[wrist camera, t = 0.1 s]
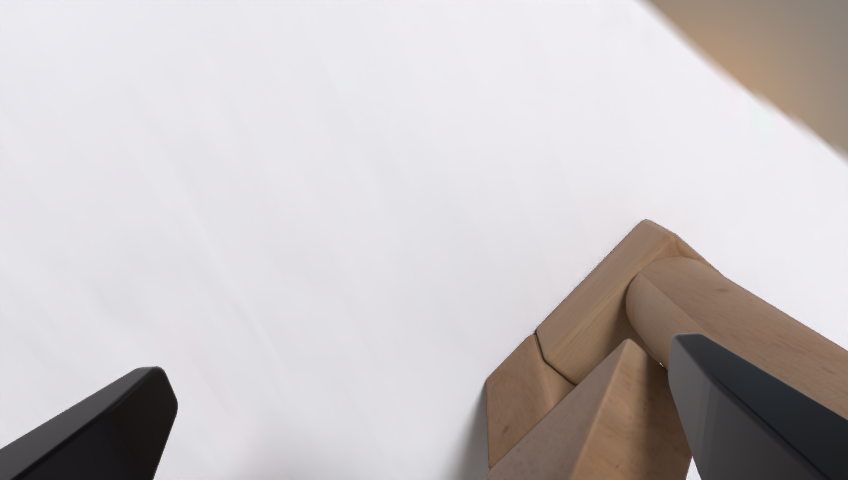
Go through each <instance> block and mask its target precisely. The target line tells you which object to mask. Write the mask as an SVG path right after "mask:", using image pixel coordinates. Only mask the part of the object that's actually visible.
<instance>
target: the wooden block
mask: <svg viewBox="0 0 848 480" xmlns="http://www.w3.org/2000/svg"><path fill="white" fill-rule="evenodd" d="M536 332H537V335H535V334H532V335H530V336H528V337H527V338H526V339H525V340H524V341H523V342H522V343H521V344H520V345H519V346H518V347H517V349H516V350H515V351H514V352H513V353H512V354H511V355H510V356H509V357H508V358H507V359H506V360H505V361H504V362H503V363H502V364H501V365H500V366H499V367H498V368H497V369H496V370H495V371H494V372H493V373H492V374H491V375H490V376H489V377H488V378H487V381H486V406H487V433H488V460H489V468H490V471H489V472H488V474H487V480H686V476H687V473H688V469H689V466H690V462H691V459H692V453H691V450H690V447H689V444H688V441H687V438H686V435H685V432H684V429H683V426H682V423H681V420H680V417H679V414H678V411H677V408H676V405H675V402H674V399H673V396H672V393H671V390H670V386H669V381H668V367H669V355H670V344H671V339H672V337H673V336H674V335H675V334H680V333H701V334H703V335H705V336H707V337H708V338H710V339H712V340H713V341H715V342H717V343H718V344H720V345H722V346H724V347H725V348H727V349H729V350H730V351H732V352H734V353H736V354H737V355H739V356H741V357H742V358H744V359H746V360H747V361H749V362H751V363H753V364H754V365H756V366H758V367H759V368H761V369H763V370H764V371H766V372H768V373H770V374H771V375H773V376H775V377H776V378H778V379H780V380H781V381H783V382H785V383H787V384H788V385H790V386H792V387H793V388H795V389H797V390H798V391H800V392H802V393H804V394H805V395H807V396H809V397H810V398H812V399H814V400H815V401H817V402H819V403H821V404H822V405H824V406H826V407H827V408H829V409H831V410H832V411H834V412H836V413H838V414H839V415H841V416H843V417H844V418H846V419H848V351H847V350H845V349H844V348H842V347H840V346H839V345H837V344H835V343H834V342H832V341H830V340H829V339H827V338H825V337H824V336H822V335H820V334H819V333H817V332H815V331H814V330H812V329H810V328H809V327H807V326H805V325H804V324H802V323H800V322H799V321H797V320H795V319H794V318H792V317H790V316H789V315H787V314H785V313H784V312H782V311H780V310H779V309H777V308H776V307H774V306H772V305H771V304H769V303H767V302H766V301H764V300H762V299H761V298H759V297H757V296H756V295H754V294H752V293H751V292H749V291H747V290H746V289H744V288H742V287H741V286H739V285H737V284H736V283H734V282H732V281H731V280H729V279H727V278H726V277H724V276H723V275H722V274H721V273H720V272H719V271H718V270H716V269H715V268H714V267H713V266H712V265H711V264H710V263H708V262H707V261H706V260H705V259H704V258H703V257H702V256H700V255H699V254H698V253H697V252H696V251H695V250H694V249H692V248H691V247H690V246H689V245H688V244H687V243H686V242H684V241H683V240H682V239H681V238H680V237H679V236H678V235H676V234H675V233H673V232H671V231H669V230H667V229H666V228H664V227H662V226H660V225H658V224H656V223H654V222H652V221H650V220H647V219H645V220H643V221H641V222H640V223H639V224H638V225H637V226H636V227H635V228H634V229H633V230H632V231H631V232H630V233H629V234H628V235H627V236H626V237H625V238H624V239H623V240H622V241H621V242H620V243H619V244H618V245H617V246H616V247H615V248H614V249H613V250H612V251H611V252H610V254H609V255H608V256H607V257H606V258H605V259H604V260H603V261H602V262H601V263H600V264H599V265H598V266H597V267H596V268H595V269H594V270H593V271H592V272H591V273H590V274H589V275H588V276H587V277H586V278H585V279H584V280H583V281H582V282H581V283H580V284H579V285H578V286H577V287H576V288H575V289H574V290H573V291H572V292H571V293H570V294H569V296H568V297H567V298H566V299H565V300H564V301H563V302H562V303H561V304H560V305H559V306H558V307H557V308H556V309H555V310H554V311H553V312H552V313H551V314H550V315H549V316H548V317H547V318H546V319H545V320H544V321H543V322H542V323H541V324H540V325H539V326H538V328H537V331H536ZM660 363H661V364H662V365H663V366H664V367H663V366H662V365H661V364H660Z"/></svg>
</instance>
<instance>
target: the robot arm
mask: <svg viewBox="0 0 848 480" xmlns="http://www.w3.org/2000/svg"><path fill="white" fill-rule="evenodd" d="M668 381H669V386H670V390H671V393H672V396H673V399H674V402H675V405H676V408H677V411H678V414H679V417H680V420H681V423H682V426H683V429H684V432H685V435H686V438H687V441H688V444H689V447H690V450H691V453H692V456H693V459H694V461H695V464H696V467H697V470H698V473H699V475H700V477H701V480H848V419H846V418H844V417H843V416H841V415H839V414H838V413H836V412H834V411H832V410H831V409H829V408H827V407H826V406H824V405H822V404H821V403H819V402H817V401H815V400H814V399H812V398H810V397H809V396H807V395H805V394H804V393H802V392H800V391H798V390H797V389H795V388H793V387H792V386H790V385H788V384H787V383H785V382H783V381H781V380H780V379H778V378H776V377H775V376H773V375H771V374H770V373H768V372H766V371H764V370H763V369H761V368H759V367H758V366H756V365H754V364H753V363H751V362H749V361H747V360H746V359H744V358H742V357H741V356H739V355H737V354H736V353H734V352H732V351H730V350H729V349H727V348H725V347H724V346H722V345H720V344H718V343H717V342H715V341H713V340H712V339H710V338H708V337H707V336H705V335H703V334H701V333H680V334H675V335H674V336H673V337H672V339H671V344H670V355H669V367H668ZM177 410H178V403H177V398H176V396H175V394H174V391H173V389H172V387H171V384H170V382H169V380H168V377H167V375H166V373H165V371H164V370H163V369H162V368H161V367H157V366H156V367H141V368H137V369H135V370H133V371H131V372H130V373H128V374H126V375H125V376H123V377H121V378H119V379H118V380H116V381H114V382H113V383H111V384H109V385H108V386H106V387H104V388H103V389H101V390H99V391H98V392H96V393H94V394H93V395H91V396H89V397H87V398H86V399H84V400H82V401H81V402H79V403H77V404H76V405H74V406H72V407H71V408H69V409H67V410H66V411H64V412H62V413H61V414H59V415H57V416H55V417H54V418H52V419H50V420H49V421H47V422H45V423H44V424H42V425H40V426H39V427H37V428H35V429H34V430H32V431H30V432H29V433H27V434H25V435H23V436H22V437H20V438H18V439H17V440H15V441H13V442H12V443H10V444H8V445H7V446H5V447H3V448H2V449H0V480H153V479H154V476H155V473H156V470H157V468H158V465H159V462H160V459H161V456H162V454H163V451H164V448H165V445H166V443H167V440H168V437H169V434H170V431H171V429H172V426H173V423H174V420H175V418H176V415H177Z"/></svg>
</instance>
